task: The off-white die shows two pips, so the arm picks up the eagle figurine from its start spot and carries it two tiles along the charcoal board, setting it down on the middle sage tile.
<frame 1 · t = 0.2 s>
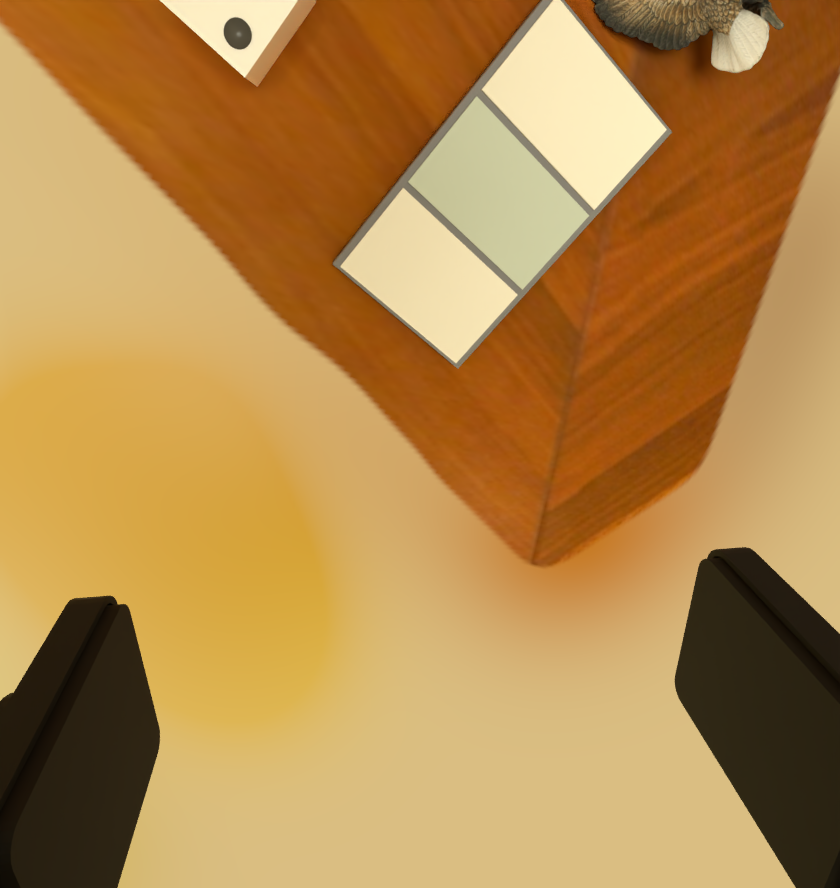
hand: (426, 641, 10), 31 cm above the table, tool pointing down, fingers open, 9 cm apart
game board: (497, 197, 37), on the table
die: (245, 6, 32), on the table
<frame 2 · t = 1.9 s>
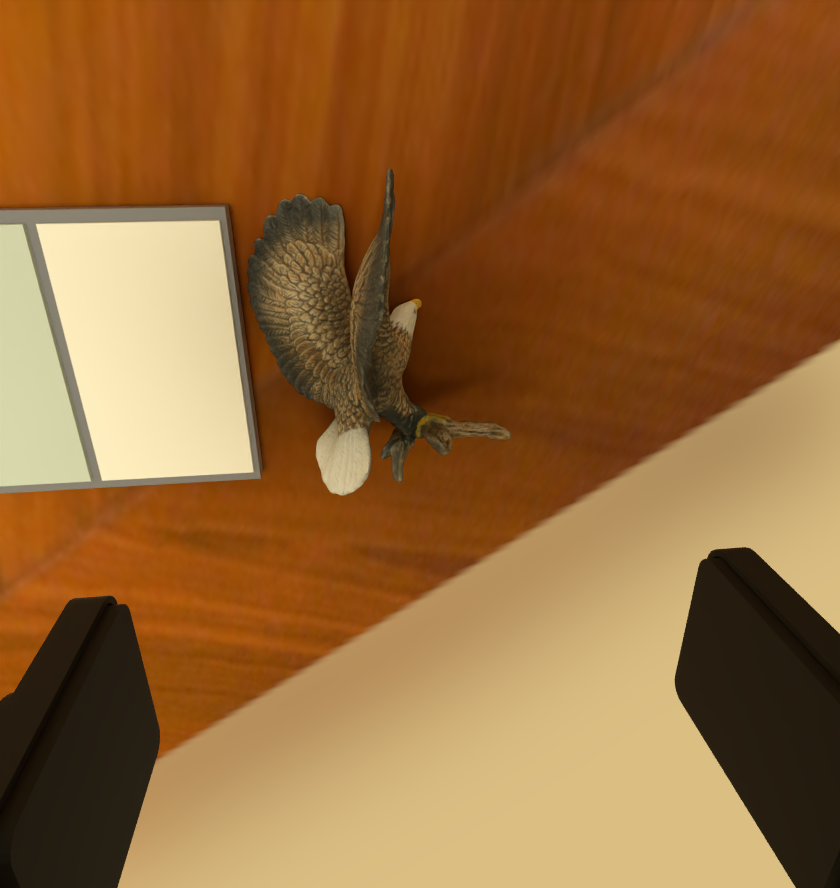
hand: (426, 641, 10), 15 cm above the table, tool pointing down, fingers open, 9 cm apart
eagle figurine: (363, 317, 24), on the table
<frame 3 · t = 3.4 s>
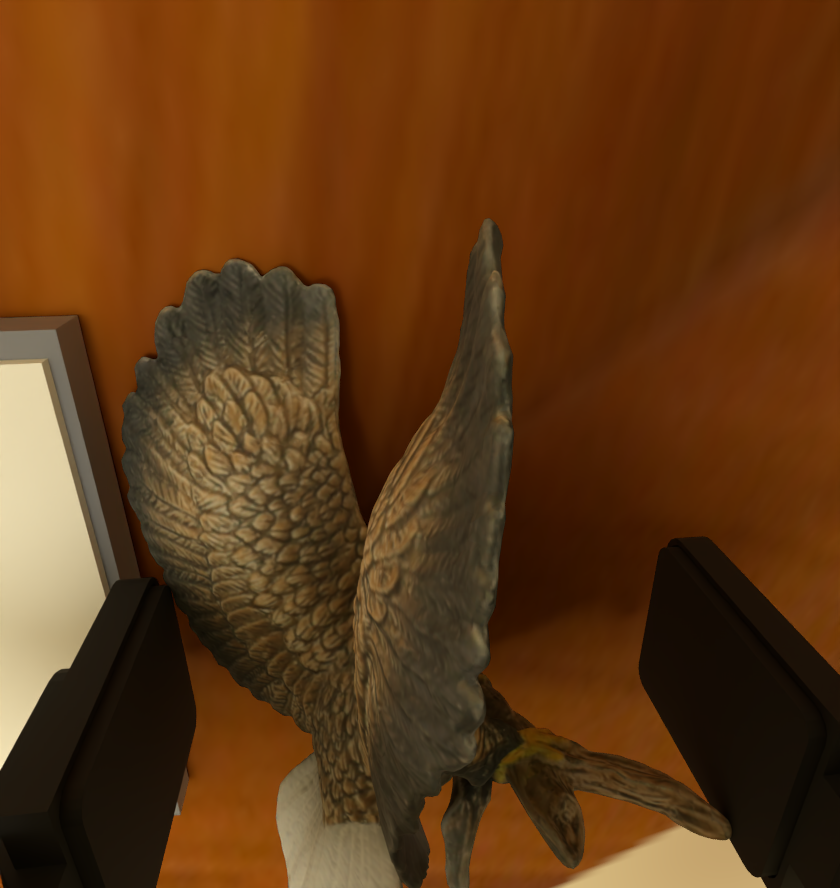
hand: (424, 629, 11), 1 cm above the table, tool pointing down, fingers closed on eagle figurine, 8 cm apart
eagle figurine: (378, 502, 11), on the table, touching gripper
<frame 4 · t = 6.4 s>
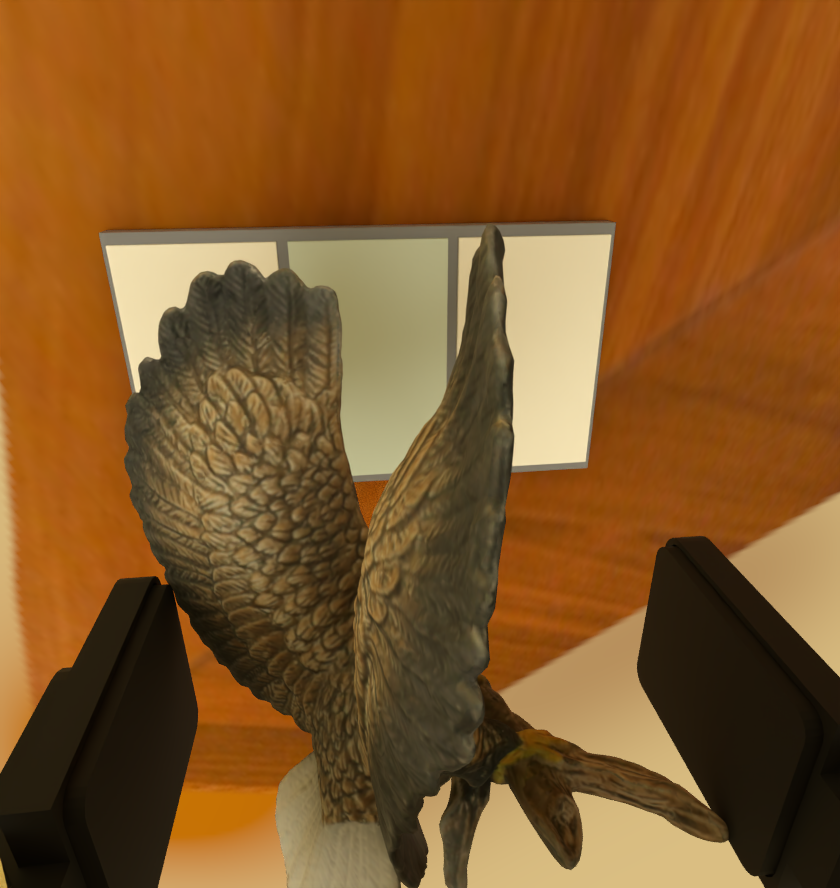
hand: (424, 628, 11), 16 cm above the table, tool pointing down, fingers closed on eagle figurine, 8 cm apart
eagle figurine: (379, 503, 12), point 14 cm above the table, touching gripper
game board: (372, 358, 25), on the table
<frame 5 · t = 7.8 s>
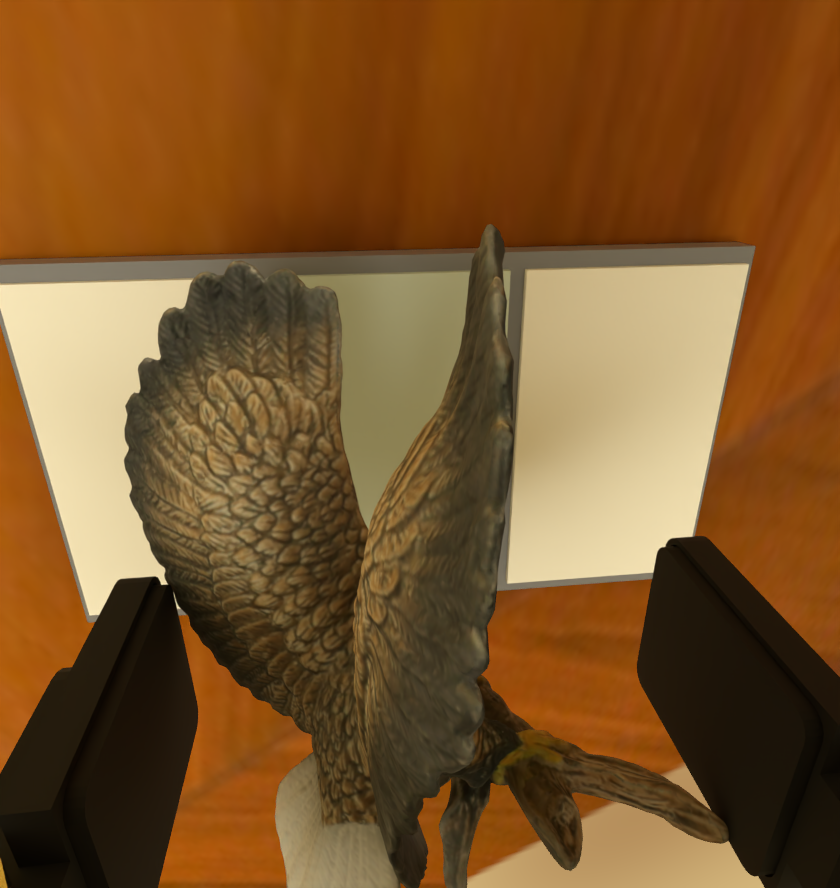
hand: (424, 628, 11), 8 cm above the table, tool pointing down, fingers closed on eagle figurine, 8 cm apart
eagle figurine: (379, 503, 11), point 6 cm above the table, touching gripper
game board: (394, 435, 18), on the table
when the fingers open (4 cm above the table, at t = 9.2 s): eagle figurine drops 1 cm, resting on game board.
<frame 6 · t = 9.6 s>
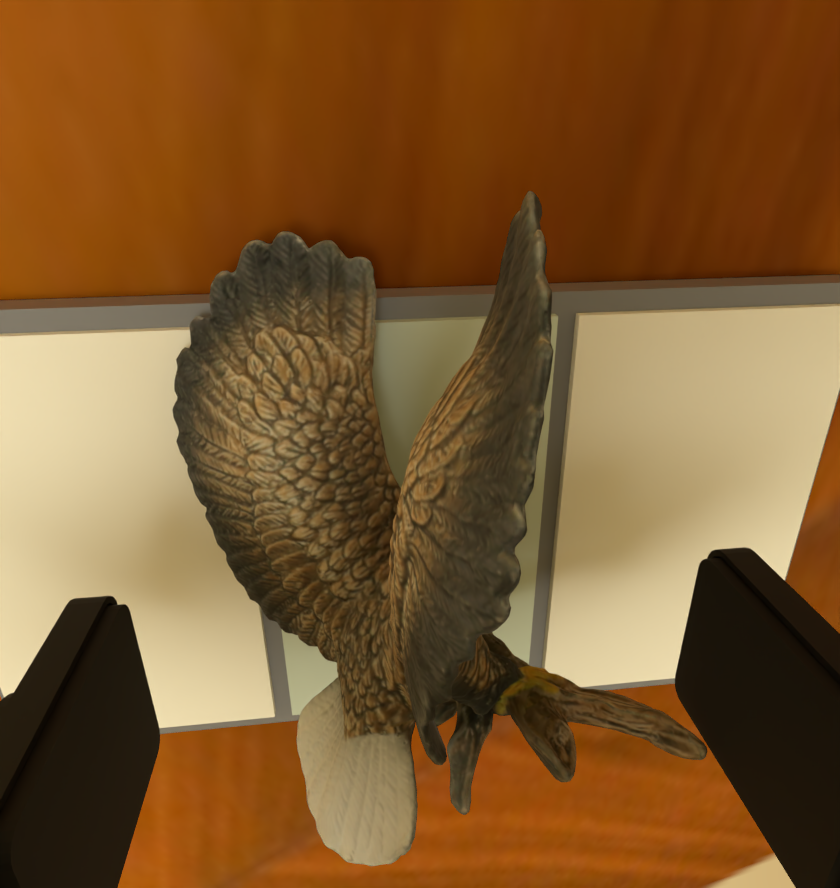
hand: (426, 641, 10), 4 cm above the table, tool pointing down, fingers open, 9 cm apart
eagle figurine: (397, 462, 13), point 1 cm above the table, touching game board
game board: (404, 515, 14), on the table
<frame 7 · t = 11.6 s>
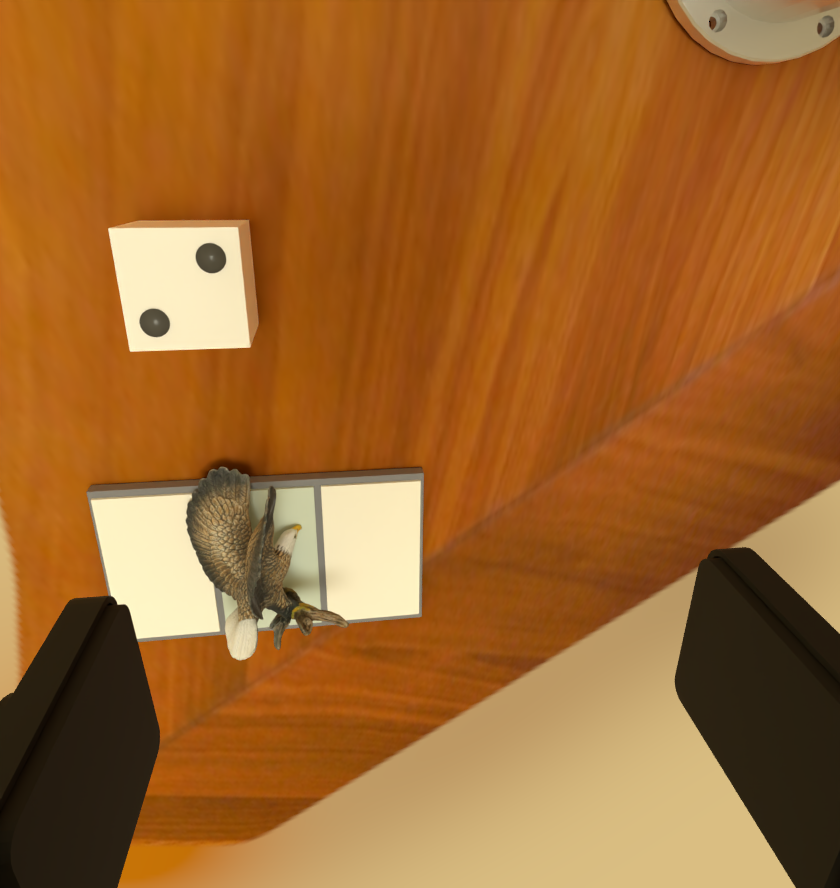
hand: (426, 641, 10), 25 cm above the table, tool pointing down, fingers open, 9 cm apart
eagle figurine: (263, 534, 36), point 1 cm above the table, touching game board
game board: (269, 552, 37), on the table
die: (201, 274, 31), on the table
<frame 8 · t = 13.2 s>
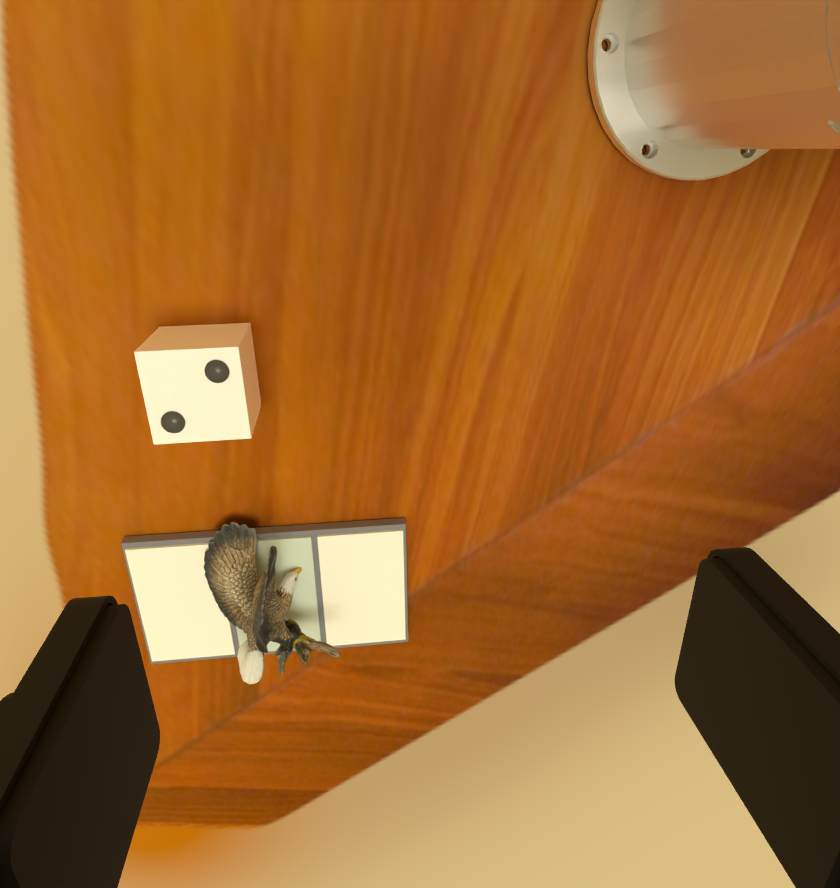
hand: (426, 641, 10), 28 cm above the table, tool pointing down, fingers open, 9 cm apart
eagle figurine: (269, 575, 42), point 1 cm above the table, touching game board
game board: (275, 588, 44), on the table
die: (212, 366, 37), on the table
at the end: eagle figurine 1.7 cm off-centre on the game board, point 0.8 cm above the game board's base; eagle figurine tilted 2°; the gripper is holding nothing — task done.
